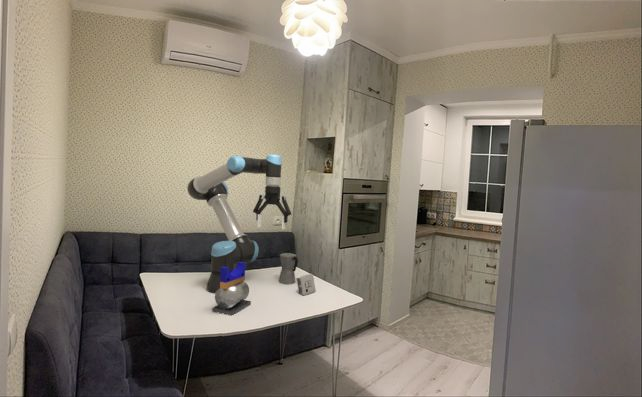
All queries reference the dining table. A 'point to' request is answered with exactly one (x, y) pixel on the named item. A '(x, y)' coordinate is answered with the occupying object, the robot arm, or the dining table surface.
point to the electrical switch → (306, 284)
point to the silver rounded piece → (232, 297)
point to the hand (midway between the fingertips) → (271, 228)
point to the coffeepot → (288, 267)
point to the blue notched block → (232, 273)
